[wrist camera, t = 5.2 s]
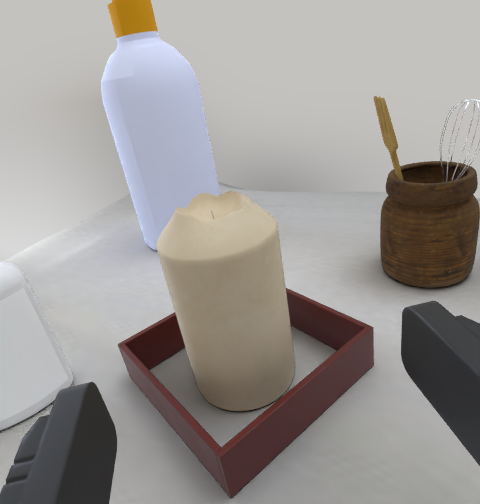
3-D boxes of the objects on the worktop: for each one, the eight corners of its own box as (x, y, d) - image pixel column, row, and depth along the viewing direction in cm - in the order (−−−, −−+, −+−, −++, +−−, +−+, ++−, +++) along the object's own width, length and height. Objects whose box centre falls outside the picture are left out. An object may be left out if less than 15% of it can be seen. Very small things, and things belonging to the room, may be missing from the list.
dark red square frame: (253, 301, 27) (248, 270, 26) (373, 365, 20) (373, 327, 19) (130, 377, 22) (117, 344, 21) (231, 498, 15) (219, 457, 14)
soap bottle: (249, 223, 40) (202, -60, 29) (175, 261, 35) (86, -66, 24) (200, 210, 46) (147, -28, 35) (131, 241, 41) (45, -27, 30)
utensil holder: (493, 283, 24) (524, 79, 19) (393, 297, 25) (397, 101, 19) (446, 243, 30) (461, 75, 24) (365, 256, 30) (362, 93, 25)
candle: (212, 430, 18) (157, 239, 14) (186, 358, 23) (140, 200, 18) (315, 386, 19) (295, 199, 15) (270, 327, 24) (246, 173, 20)
